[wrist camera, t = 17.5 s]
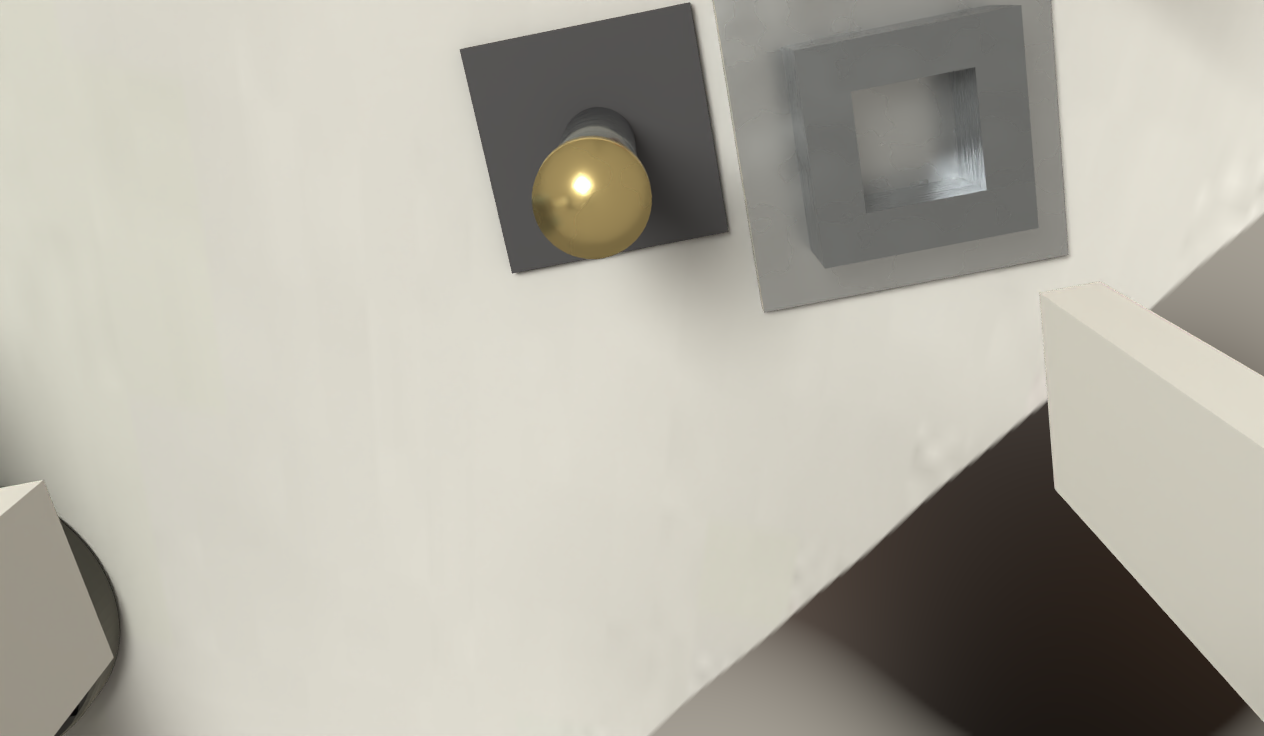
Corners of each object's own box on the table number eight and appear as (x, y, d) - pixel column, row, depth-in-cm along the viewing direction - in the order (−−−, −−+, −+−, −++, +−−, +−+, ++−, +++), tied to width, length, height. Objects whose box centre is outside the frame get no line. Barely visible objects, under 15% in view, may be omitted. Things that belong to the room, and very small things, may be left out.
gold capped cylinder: (565, 194, 49) (546, 269, 36) (547, 109, 48) (519, 152, 35) (649, 178, 49) (661, 246, 36) (632, 92, 48) (639, 128, 34)
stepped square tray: (762, 307, 52) (775, 335, 48) (712, -3, 47) (721, -3, 43) (1061, 251, 51) (1102, 274, 47) (1038, -69, 47) (1081, -76, 42)
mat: (513, 270, 51) (512, 273, 51) (461, 48, 48) (459, 49, 47) (727, 228, 51) (728, 231, 50) (689, 2, 47) (689, 2, 47)
